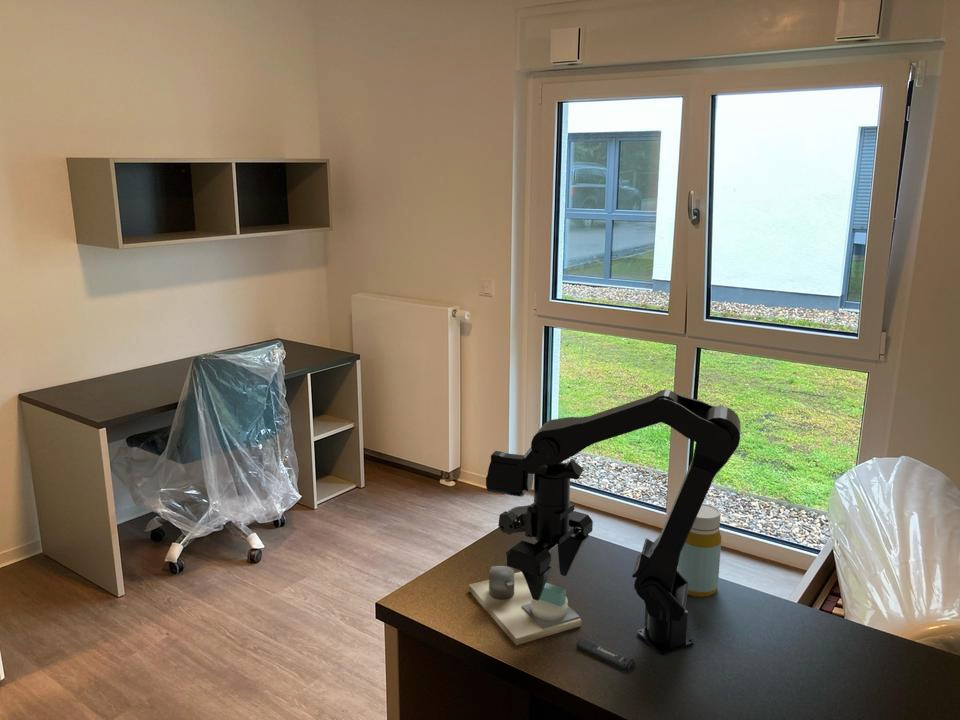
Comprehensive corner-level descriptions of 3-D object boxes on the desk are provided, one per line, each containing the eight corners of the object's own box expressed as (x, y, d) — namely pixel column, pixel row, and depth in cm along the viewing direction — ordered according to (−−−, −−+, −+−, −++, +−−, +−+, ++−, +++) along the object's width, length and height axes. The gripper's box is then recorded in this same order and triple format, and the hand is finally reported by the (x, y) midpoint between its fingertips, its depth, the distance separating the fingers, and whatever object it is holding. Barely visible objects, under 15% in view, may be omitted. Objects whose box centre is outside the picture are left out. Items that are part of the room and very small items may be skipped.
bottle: (713, 579, 141) (718, 503, 137) (720, 599, 134) (727, 520, 130) (674, 577, 141) (678, 501, 138) (680, 597, 135) (684, 518, 131)
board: (580, 626, 126) (581, 597, 125) (516, 645, 122) (516, 615, 120) (528, 575, 142) (528, 550, 141) (468, 590, 137) (468, 564, 136)
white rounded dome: (556, 624, 124) (556, 600, 123) (524, 613, 128) (524, 589, 127) (573, 607, 129) (574, 584, 128) (542, 596, 132) (543, 573, 131)
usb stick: (574, 650, 121) (574, 641, 120) (583, 643, 123) (584, 634, 122) (627, 675, 115) (627, 666, 114) (636, 667, 117) (636, 658, 116)
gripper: (537, 470, 135) (536, 551, 139) (477, 507, 120) (477, 597, 124) (595, 484, 129) (592, 568, 133) (538, 525, 114) (537, 619, 118)
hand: (550, 587), depth 127 cm, fingers open, 9 cm apart
